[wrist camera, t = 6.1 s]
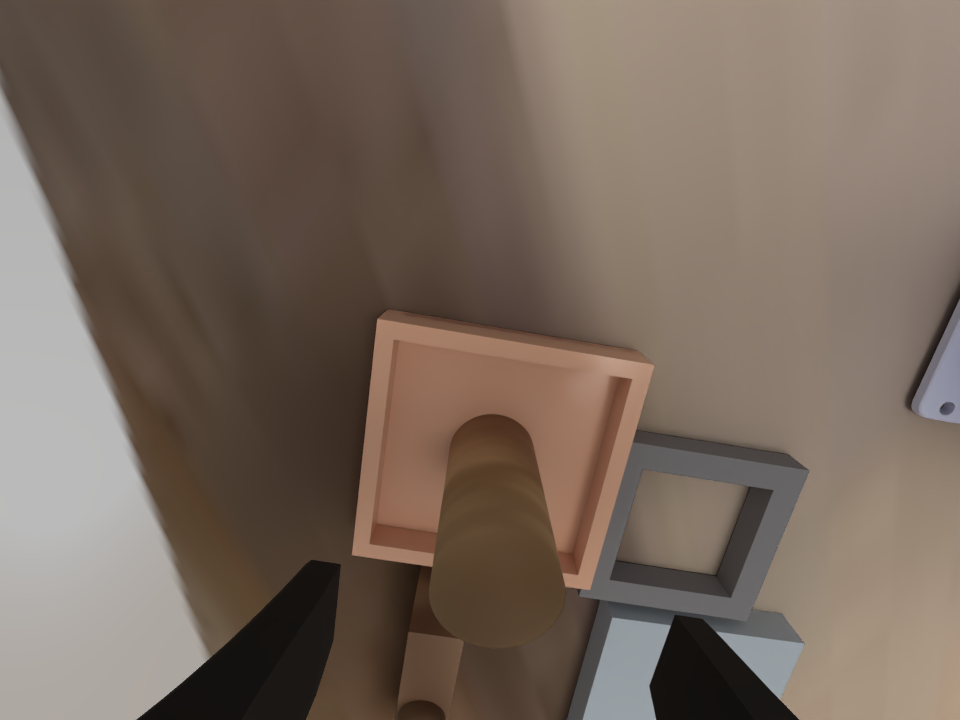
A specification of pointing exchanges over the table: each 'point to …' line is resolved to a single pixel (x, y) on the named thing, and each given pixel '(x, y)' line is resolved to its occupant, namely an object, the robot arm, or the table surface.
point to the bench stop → (427, 662)
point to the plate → (639, 642)
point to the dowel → (495, 540)
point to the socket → (750, 543)
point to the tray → (504, 391)
